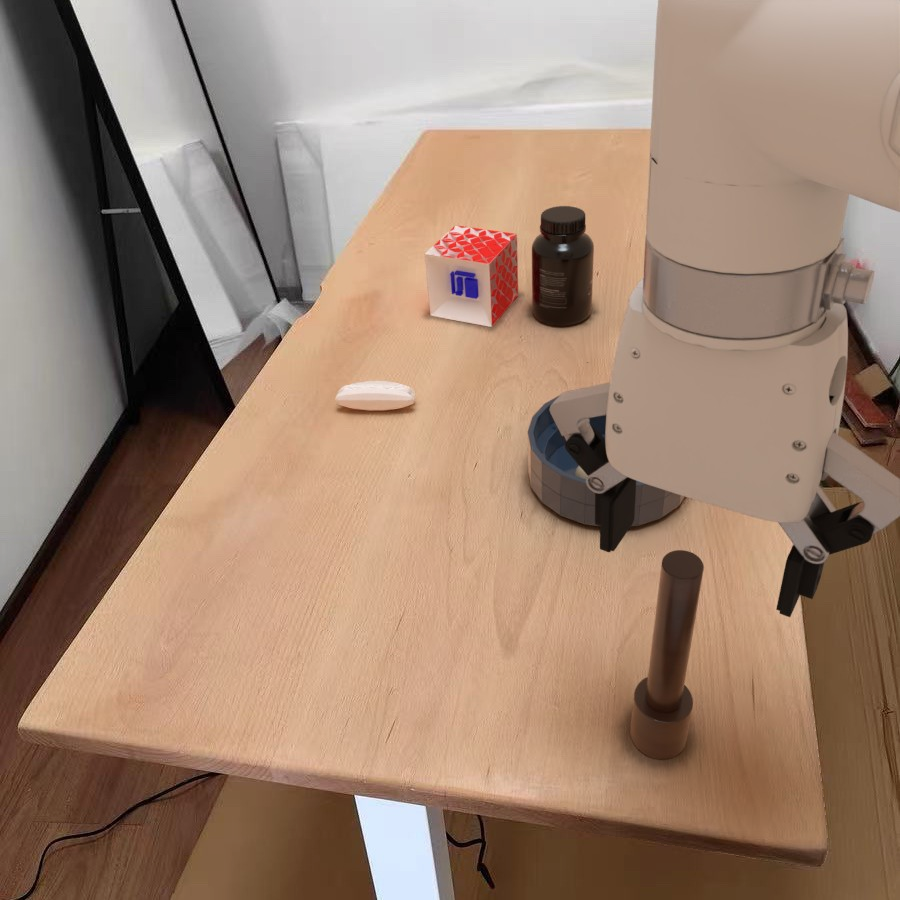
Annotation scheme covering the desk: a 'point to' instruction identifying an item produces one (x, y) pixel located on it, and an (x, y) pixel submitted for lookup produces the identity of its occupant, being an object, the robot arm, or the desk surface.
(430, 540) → the desk surface
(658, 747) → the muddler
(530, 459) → the bowl
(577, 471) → the ball
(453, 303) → the puzzle cube
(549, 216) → the supplement bottle
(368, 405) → the sandwich bun
